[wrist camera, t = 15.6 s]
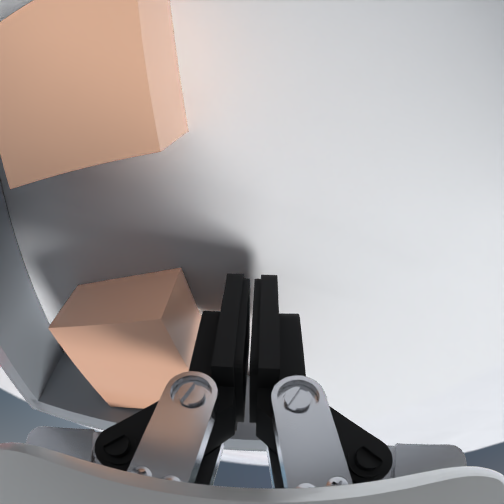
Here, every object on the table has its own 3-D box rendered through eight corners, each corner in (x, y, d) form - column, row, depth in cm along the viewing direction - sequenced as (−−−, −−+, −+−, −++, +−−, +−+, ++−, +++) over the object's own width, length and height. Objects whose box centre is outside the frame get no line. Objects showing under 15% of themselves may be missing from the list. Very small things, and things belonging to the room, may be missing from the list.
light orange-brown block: (169, -16, 7) (133, -46, 4) (190, 130, 9) (160, 152, 7) (40, 34, 7) (-17, 34, 5) (61, 159, 10) (10, 189, 7)
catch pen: (295, -101, 5) (306, -159, 2) (276, 390, 15) (276, 451, 12) (-23, -13, 5) (-80, -13, 2) (55, 363, 15) (32, 408, 12)
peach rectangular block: (182, 263, 12) (160, 318, 9) (220, 354, 14) (211, 408, 11) (80, 281, 12) (48, 328, 10) (128, 359, 15) (110, 406, 12)
